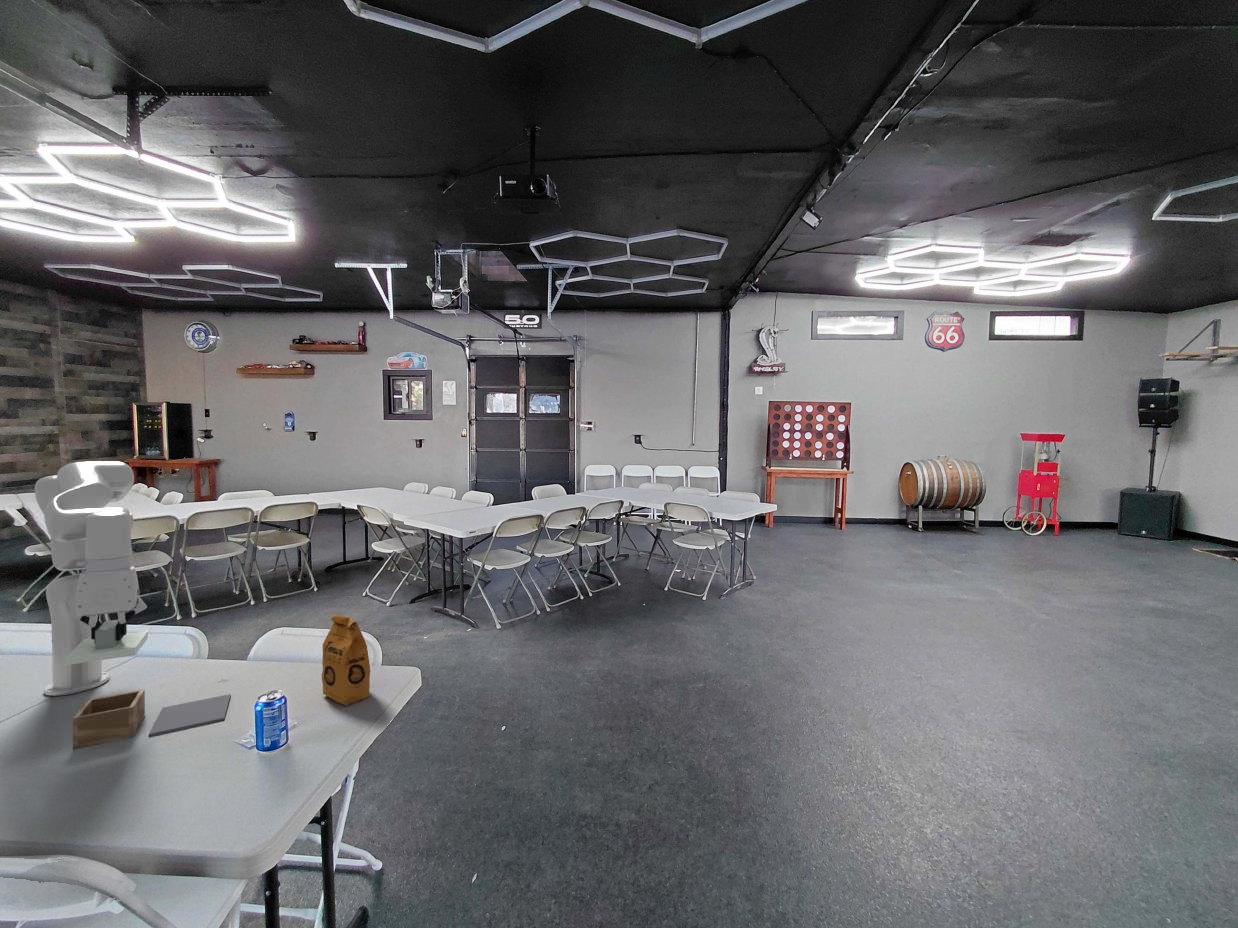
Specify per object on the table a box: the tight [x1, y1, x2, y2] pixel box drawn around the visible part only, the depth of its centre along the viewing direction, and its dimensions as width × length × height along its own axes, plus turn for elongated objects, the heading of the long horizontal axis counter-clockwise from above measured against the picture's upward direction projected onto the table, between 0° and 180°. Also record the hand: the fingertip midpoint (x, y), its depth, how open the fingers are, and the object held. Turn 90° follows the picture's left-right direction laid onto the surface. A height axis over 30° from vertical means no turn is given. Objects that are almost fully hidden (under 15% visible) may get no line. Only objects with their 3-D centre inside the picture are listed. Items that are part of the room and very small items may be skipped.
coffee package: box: [321, 614, 371, 706], centre depth 137 cm, size 10×12×22 cm
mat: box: [148, 693, 231, 737], centre depth 127 cm, size 14×14×1 cm
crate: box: [71, 689, 146, 750], centre depth 118 cm, size 10×10×7 cm
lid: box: [65, 619, 149, 665], centre depth 118 cm, size 11×11×6 cm
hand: (109, 639), depth 118 cm, fingers closed on lid, 3 cm apart
